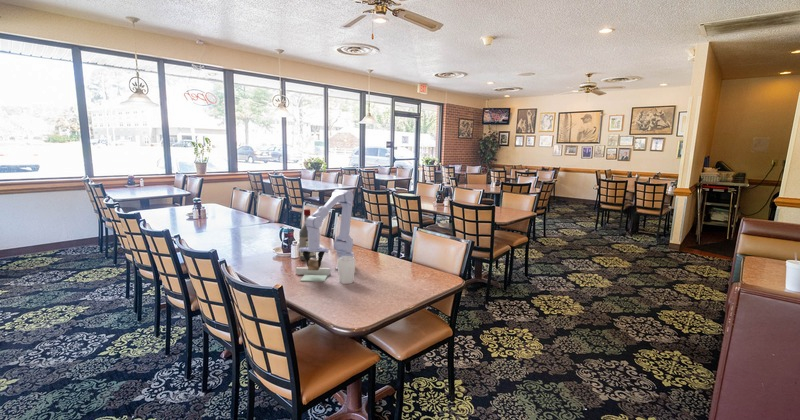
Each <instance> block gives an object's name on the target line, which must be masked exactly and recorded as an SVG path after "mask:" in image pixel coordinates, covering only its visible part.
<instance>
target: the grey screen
mask: <svg viewBox="0 0 800 420" xmlns="http://www.w3.org/2000/svg"><path fill="white" fill-rule="evenodd" d="M295 275H301V276H302V275H303V276H304V275H328V276H331V267H320V268H319V270H308V267H300V266H299V267H298V266H297V267H296V268H295Z"/></svg>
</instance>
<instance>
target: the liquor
mask: <svg viewBox="0 0 800 420" xmlns="http://www.w3.org/2000/svg"><path fill="white" fill-rule="evenodd" d="M303 216H304V223H303V226H302V227H301V229H300V230H299V233H298V234H299V248H305V247H308V231H307V227H306V225H305V222H306V219H307V218H308V217H309V216H311V209H309V208H307V209H303ZM310 258H317V252H310ZM299 259H300V260H301V261H302V260H303V262H306V260H305V258H304V256H303V252H299Z"/></svg>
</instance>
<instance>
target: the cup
mask: <svg viewBox="0 0 800 420" xmlns="http://www.w3.org/2000/svg"><path fill="white" fill-rule="evenodd" d="M336 266H338V269H337V271H338V278H339V283H340V284H343V285H348V284H352V283H353V282H354V277H355V273H356V258H355V256H354V257H350V256H344V257H339V258H338V262H337V261H336Z"/></svg>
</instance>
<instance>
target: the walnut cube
mask: <svg viewBox="0 0 800 420" xmlns="http://www.w3.org/2000/svg"><path fill="white" fill-rule="evenodd" d="M318 263H319V259H318V257H316V258H310V259H309V260H308V266H307V268H308V270H319V268H321V266H320V267H319V266H318Z"/></svg>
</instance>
